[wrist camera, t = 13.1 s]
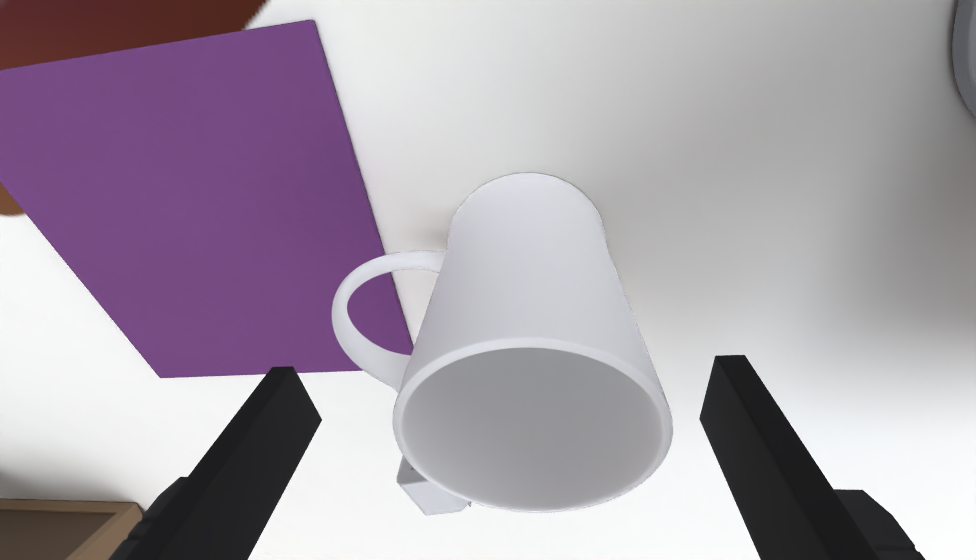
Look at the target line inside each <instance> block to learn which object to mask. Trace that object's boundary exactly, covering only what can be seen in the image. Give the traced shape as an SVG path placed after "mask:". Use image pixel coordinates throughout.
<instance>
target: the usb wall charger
mask: <svg viewBox="0 0 976 560" xmlns="http://www.w3.org/2000/svg"><path fill="white" fill-rule="evenodd" d="M397 483H398V484H399V485H400V486H401V487H402V489H403V490H404V491H405V492H406V493H407V494H408V496H409V497H410V498H411V499H412V500H413V502H414V503H415V504H416V505H417V506H418V507H419V509H420V510H421V511H422V512H423V513H424V514H425V515H434V514H442V513H451V512H459V511H462V510H463V509H464V508H465V507H466V506H467V504H468V505H469V506H470V507H471V502H470V501H467V500H464V499H461V498H459V497H457V496H454V495H452V494H450V493H448V492H446V491H444V490H442V489H441V488H439V487H437V486H436V485H434V484H432V483H431V482H430V481H428V480H427V479H426V478H424V477H423V476H422V475H421V474H419V473H418V472H417V471H416V470H415V469H414V468H413V467H412V466H411V464H410V463H409V462H408V461H407V460H406V458H405V457H404V455H403V457H402V460H401V464H400V467H399V471H398V475H397Z"/></svg>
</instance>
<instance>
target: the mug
mask: <svg viewBox="0 0 976 560" xmlns="http://www.w3.org/2000/svg"><path fill="white" fill-rule="evenodd" d="M406 269H424V270H430V271H433V272H437V273H439V275H438V278H437V281H436V284H435V287H434V290H433V293H432V296H431V299H430V302H429V305H428V307H427V310H426V313H425V316H424V319H423V322H422V325H421V328H420V331H419V334H418V337H417V340H416V343H415V346H414V349H413V352H412V355H411V356H410V355H404V354H399V353H395V352H391V351H388V350H385V349H383V348H381V347H379V346H377V345H375V344H374V343H372V342H371V341H369V340H368V339H367V338H365V337H364V336H363V335H362V334H361V333H360V332H359V331H358V330H357V329H356V328H355V327H354V325H353V324H352V322H351V320H350V318H349V316H348V312H347V303H348V300H349V298H350V296H351V295H352V293H353V292H354V291H355V290H356V289H357V288H358V287H359V286H360V285H361V284H363V283H364V282H366V281H368V280H369V279H371V278H373V277H376V276H378V275H381V274H384V273H388V272H392V271H397V270H406ZM332 324H333V329H334V332H335V335H336V338H337V340H338V342H339V344H340V345H341V347H342V349H343V350H344V351H345V353H346V354H347V355H348V356H349V358H350V359H351V360H352V361H353V362H354V363H355V364H356V365H358V366H359V367H360V368H361V369H363V370H364V371H365V372H367V373H368V374H370V375H371V376H373V377H374V378H376V379H378V380H380V381H382V382H383V383H385V384H387V385H389V386H391V387H392V388H394V389H395V390H396V391H397V392H398V396H397V399H396V403H395V406H394V411H393V430H394V435H395V439H396V441H397V444H398V446H399V448H400V450H401V452H402V454H403V455H404V457H405V458H406V460H407V461H408V462H409V463H410V464H411V466H412V467H413V468H414V469H415V470H416V471H417V472H418V473H419V474H421V475H422V476H423V477H424V478H426V479H427V480H428V481H430V482H431V483H432V484H434V485H436V486H437V487H439V488H441V489H442V490H444V491H446V492H448V493H450V494H452V495H454V496H457V497H459V498H461V499H464V500H467V501H470V502H473V503H476V504H479V505H483V506H487V507H491V508H496V509H501V510H508V511H516V512H529V513H548V512H562V511H570V510H576V509H581V508H586V507H590V506H594V505H597V504H601V503H604V502H607V501H609V500H612V499H614V498H617V497H619V496H621V495H623V494H625V493H627V492H629V491H630V490H632V489H634V488H635V487H637V486H638V485H640V484H641V483H642V482H644V481H645V480H646V479H647V478H649V477H650V476H651V475H652V474H653V473H654V472H655V471H656V469H657V468H658V467H659V466H660V464H661V463H662V462H663V460H664V458H665V457H666V455H667V453H668V450H669V448H670V445H671V441H672V435H673V422H672V416H671V412H670V408H669V405H668V403H667V400H666V397H665V395H664V392H663V389H662V387H661V384H660V382H659V379H658V377H657V374H656V371H655V369H654V366H653V364H652V361H651V359H650V356H649V354H648V351H647V348H646V346H645V343H644V341H643V338H642V336H641V333H640V331H639V328H638V326H637V323H636V320H635V318H634V315H633V313H632V310H631V308H630V305H629V303H628V300H627V297H626V295H625V292H624V290H623V287H622V285H621V282H620V280H619V277H618V274H617V272H616V269H615V267H614V264H613V262H612V259H611V257H610V254H609V251H608V249H607V246H606V235H605V229H604V225H603V222H602V220H601V217H600V215H599V213H598V211H597V209H596V208H595V206H594V205H593V204H592V202H591V201H590V200H589V199H588V198H587V197H586V196H585V195H584V194H583V193H582V192H581V191H580V190H578V189H577V188H576V187H574V186H573V185H571V184H569V183H567V182H565V181H563V180H561V179H558V178H556V177H552V176H549V175H544V174H538V173H518V174H511V175H507V176H503V177H500V178H497V179H494V180H492V181H490V182H488V183H486V184H484V185H482V186H481V187H479V188H478V189H477V190H475V191H474V192H473V193H472V194H470V195H469V196H468V197H467V198H466V199H465V201H464V202H463V203H462V204H461V206H460V207H459V208H458V210H457V212H456V213H455V215H454V217H453V220H452V222H451V225H450V228H449V233H448V241H447V251H406V252H398V253H393V254H388V255H384V256H381V257H378V258H375V259H373V260H370V261H368V262H366V263H364V264H362V265H361V266H359V267H358V268H356V269H355V270H353V271H352V272H351V273H350V274H349V275H348V276H347V277H346V278H345V279H344V280H343V282H342V283H341V284H340V286H339V288H338V290H337V292H336V294H335V297H334V300H333V305H332Z"/></svg>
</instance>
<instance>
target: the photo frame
mask: <svg viewBox="0 0 976 560" xmlns="http://www.w3.org/2000/svg"><path fill="white" fill-rule="evenodd" d="M141 520H142V514H141V511H140V509H139V507H138V505H137V503H120V502H88V501H55V500H22V499H0V560H108V559H109V558H110V556H111V555H112V554H113V552H114V551H115V550H116V549H117V547H118V546H119V545H120V544H121V542H122V541H123V540H126V539H127V537H128V534H129V532H130V531H131V530H132V529H133V527H134V526H135V525H136V524H137V522H138V521H139V522H140V521H141Z"/></svg>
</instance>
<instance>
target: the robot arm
mask: <svg viewBox="0 0 976 560" xmlns="http://www.w3.org/2000/svg"><path fill="white" fill-rule="evenodd" d="M952 50H953V67H954V73H955V79H956V82H957V85H958V89H959V92H960V95H961V96H962V98H963V100H964V102H965V104H966V106H967V108H968V109H969V110H970V112H971V113H972V114H973V115H974V117H975V118H976V0H959V2H958V7H957V12H956V17H955V22H954V31H953V42H952ZM699 419H700V421H701V423H702V426H703V428H704V430H705V433H706V435H707V437H708V440H709V442H710V444H711V446H712V449H713V451H714V453H715V456H716V458H717V460H718V463H719V465H720V467H721V469H722V472H723V474H724V476H725V479H726V481H727V483H728V486H729V488H730V490H731V492H732V495H733V497H734V499H735V502H736V504H737V506H738V508H739V511H740V513H741V515H742V518H743V520H744V522H745V525H746V527H747V529H748V531H749V534H750V536H751V538H752V541H753V543H754V545H755V548H756V550H757V552H758V554H759V557H760V559H761V560H925V558H924V557H923V556H922V554H921V553H920V552H918V551H916V549H915V545H914V544H913V542H912V541H911V540H910V538H909V537H908V536H907V534H906V533H905V532H904V530H903V529H902V528H901V526H900V525H899V524H898V522H897V521H896V520H895V518H894V517H893V516H892V515H891V514H890V513H889V512H888V511H887V510H885V509H884V508H883V507H882V506H881V505H880V504H878V503H877V502H876V501H875V500H874V499H873V498H871V497H870V496H869V495H868V494H867V493H866V492H864V491H863V490H838V489H833V488H832V487H831V485H830V484H829V482H828V481H827V479H826V478H825V476H824V475H823V473H822V472H821V470H820V468H819V467H818V465H817V464H816V462H815V461H814V459H813V458H812V456H811V455H810V453H809V452H808V450H807V449H806V447H805V446H804V444H803V443H802V441H801V440H800V438H799V437H798V435H797V434H796V432H795V431H794V429H793V428H792V426H791V425H790V423H789V422H788V420H787V418H786V417H785V415H784V414H783V412H782V411H781V409H780V408H779V406H778V405H777V403H776V402H775V400H774V399H773V397H772V396H771V394H770V393H769V391H768V390H767V388H766V387H765V385H764V384H763V382H762V381H761V379H760V378H759V376H758V375H757V373H756V371H755V370H754V368H753V367H752V365H751V364H750V362H749V361H748V359H747V358H746V356H745V355H725V356H715V360H714V364H713V367H712V371H711V375H710V379H709V383H708V387H707V391H706V395H705V399H704V403H703V407H702V410H701V414H700V418H699ZM321 421H322V419H321V417H320V415H319V413H318V411H317V410H316V408H315V406H314V404H313V402H312V400H311V399H310V397H309V395H308V393H307V391H306V389H305V387H304V386H303V384H302V382H301V380H300V378H299V376H298V374H297V373H296V371H295V369H294V367H293V366H285V367H272V368H271V369H270V370H269V372H268V373H267V374H266V376H265V377H264V378H263V379H262V381H261V382H260V383H259V385H258V386H257V387H256V389H255V390H254V391H253V393H252V394H251V395H250V396H249V398H248V399H247V400H246V402H245V403H244V404H243V406H242V407H241V408H240V410H239V411H238V412H237V413H236V415H235V416H234V417H233V419H232V420H231V421H230V423H229V424H228V425H227V426H226V428H225V429H224V430H223V432H222V433H221V434H220V436H219V437H218V438H217V440H216V441H215V442H214V443H213V445H212V446H211V447H210V449H209V450H208V451H207V453H206V454H205V455H204V457H203V458H202V459H201V460H200V462H199V463H198V464H197V466H196V467H195V468H194V470H193V471H192V472H191V474H190V475H189V476H188V477H180V478H179V479H177V480H176V481H175V482H174V483H173V484H172V485H170V486H169V487H168V488H167V489H166V490H165V491H164V492H162V493H161V494H160V495H159V496H158V497H157V499H156V500H155V501H154V502H153V504H152V505H151V506H150V507H149V509H148V510H147V511H146V512H145V514H144V515H143V516H142V520H141V521H140V522H139V521H138V522H137V524H136V525H135V526H134V527H133V529H132V530H131V531H130V532H129V534H128V537H127V539H126V540H123V541H122V542H121V544H120V545H119V546H118V547H117V549H116V550H115V551H114V552H113V554H112V555H111V556H110V558H109V559H108V560H248V558H249V556H250V554H251V552H252V550H253V548H254V547H255V545H256V543H257V541H258V539H259V537H260V535H261V533H262V532H263V530H264V528H265V526H266V524H267V522H268V520H269V518H270V517H271V515H272V513H273V511H274V509H275V507H276V505H277V503H278V502H279V500H280V498H281V496H282V494H283V492H284V490H285V488H286V487H287V485H288V483H289V481H290V479H291V477H292V475H293V473H294V472H295V470H296V468H297V466H298V464H299V462H300V460H301V458H302V457H303V455H304V453H305V451H306V449H307V447H308V445H309V443H310V442H311V440H312V438H313V436H314V434H315V432H316V430H317V428H318V427H319V425H320V423H321Z"/></svg>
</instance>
